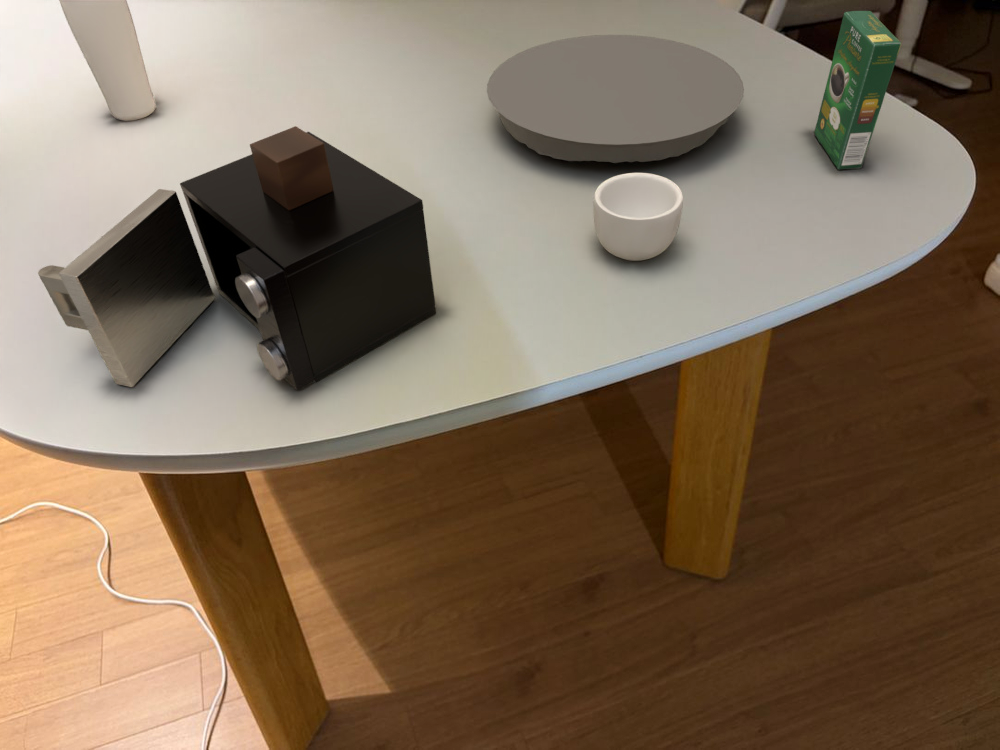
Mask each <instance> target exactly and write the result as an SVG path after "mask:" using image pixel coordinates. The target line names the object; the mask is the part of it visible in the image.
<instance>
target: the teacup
mask: <svg viewBox="0 0 1000 750" xmlns="http://www.w3.org/2000/svg"><path fill="white" fill-rule="evenodd" d="M683 197H684V196H683V192H682V189H681V188H680V187H679V186H678V184H677V183H675V182H674V181H673V180H670V179H669V178H667V177H665V176H661V175H659V174H654V173H649V172H628V173H622V174H617V175H614V176H612V177H610V178H607V179H606V180H604V181H602V182H601V183H600V184H599V185H598V187H597V188H596V189H595V192H594V195H593V201H592V203H593V205H592V210H593V226H594V231H595V234H596V237H597V239H598V241H599V243H600V244H601V246H602V247H603V249H605V250H606V251H607V252H608V253H609V254H611V255H612V256H615V257H617V258H619V259H623V260H625V261H631V262H632V261H635V262H638V261H644V260H649V259H653V258H655V257H657V256H659V255H661V254H662V253H663V252H664V251H666V250H667V249H668V248H669V247H670V246H671V244H672V243H673V241H674V239H675V237H676V235H677V232H678V229H679V226H680V222H681V219H682V212H683V207H684V198H683Z"/></svg>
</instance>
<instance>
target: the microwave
mask: <svg viewBox="0 0 1000 750" xmlns="http://www.w3.org/2000/svg"><path fill="white" fill-rule="evenodd" d="M305 132H306V133H308V134H309V135H311V136H313V137H314V138H316V139H318V140H319V141H321V142H323V143H324V146H325V151H326V156H327V161H328V165H329V170H330V175H331V180H332V185H333V189H334V191H332V192H330V193H328V194H326V195H323V196H321V197H319V198H317V199H314V200H312V201H310V202H308V203H305V204H303V205H301V206H299V207H297V208H294V209H292V210H288V209H286V208H285V207H283V206H282V205H281V204H279V203H278V202H277V201H275V200H274V199H272V198H271V197H270V196H268V195H267V194H266V193H264V192H263V191H262V187H261V183H260V180H259V176H258V173H257V169H256V166H255V162H254V158H253V155H252V153H251V154H249V155H246V156H244V157H241V158H239V159H237V160H233V161H231V162H229V163H227V164H224V165H222V166H219V167H217V168H214V169H212V170H209V171H207V172H205V173H202V174H200V175H197V176H194V177H191V178H190V179H186V180H184V181H182V182H179V185H180V189H181V191H182V193H183V197H184V199H185V202H186V205H187V207H188V210H189V214H190V216H191V219H192V222H193V225H194V227H195V230H196V233H197V236H198V239H199V242H200V244H201V247H202V249H203V252H204V255H205V258H206V261H207V263H208V266H209V269H210V272H211V275H212V277H213V280H214V283H215V286H216V287H217V291H218V294H220V295H221V297H223V298H224V299H225V300H226V301H227V302H228V303H229V304H230V305H232V306H233V307H234V308H235V309H236V310H237V311H238V312H239V313H240V314H241V315H242V316H243V317H245V318H246V319H247V320H248V321H249V322H250V323H251V324H252V325H253V326H254V327H255V328H256V329H257V330H258V331H259V332H260V335H261V337H262V341H261V342H258V343H257V345H256V349H257V353H258V356H259V358H260V360H261V362H262V364H263V366H264V367H265V369H266V370H267V372H268V373H269V374H270V375H271V376H272V377H273V378H274V379H275V380H277V381H282V380H283V379H285V380H286V381H287V382H288V383H289V385H291V386H292V387H293V388H294V389H295V390H296V391H300V390H302V389H304V388H306V387H307V386H309V385H311V384H313V383H318V382H320V381H321V380H323V379H325V378H327V377H328V376H330V375H332V374H333V373H335V372H337V371H338V370H341V369H342V368H344V367H345V366H346V367H347V366H348V365H349V364H351V363H352V362H355V361H356V360H358V359H360V358H361V357H363V356H365V355H367V354H369V353H370V352H372V351H374V350H376V349H377V348H379V347H381V346H383V345H384V344H386V343H388V342H389V341H391V340H393V339H395V338H396V337H398V336H400V335H402V334H404V333H405V332H407V331H409V330H410V329H412V328H413V327H416V326H417V325H419V324H420V323H423V322H424V321H425V320H427V319H429V318H431V317H433V316H434V315H436V314H437V309H436V308H437V307H436V301H435V299H436V298H435V293H434V291H435V290H434V285H433V276H432V268H431V260H430V253H429V245H428V243H429V242H428V236H427V228H426V220H425V212H424V202H423V199H421V198H420V197H418V196H416V195H415V194H413V193H411V192H410V191H408V190H407V189H404V188H403V187H402V186H400V185H398V184H396V183H395V182H393V181H391V180H390V179H388V178H386V177H385V176H383V175H382V174H380V173H378V172H377V171H375V170H374V169H372V168H370V167H369V166H367V165H365V164H364V163H361V161H358V160H356V159H355V158H353V157H352V156H350V155H349V154H347V153H345V152H343V150H340V149H338V148H337V147H335V146H333V145H332V144H330V143H328V142H327V141H325V140H324V139H322V138H320V137H319V136H317V135H315V134H313V133H312V132H311V131H305Z"/></svg>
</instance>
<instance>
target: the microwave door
mask: <svg viewBox="0 0 1000 750" xmlns="http://www.w3.org/2000/svg"><path fill="white" fill-rule="evenodd" d="M37 275H38V276H39V278H40V281H41V282H42V284H43V286H44V287H45V290H46V291H47V293H48V295H49V297H50V299H51V300H52V302H53V304H54V306H55V308H56V310H57V311H58V313H59V315H60V317H61V319H62V321H63V322H64V325H65V326H66V327H69V328H75V329H80V330H85V331H87V332H88V333H89V335H90V337H91V339H92V341H93V343H94V344H95V347H96V349H97V350H98V352H99V354H100V356H101V358H102V360H103V362H104V364H105V366H106V367H107V370H108V371H109V373H110V375H111V378H112V379H113V381H114V383H115V384H116V385H120V386H124V387H129V388H133V387H135V385H136V384H138V382H139V381H140V380H141V379H142V378H143V377H144V375H146V374H147V373H148V372H149V370H150V369H151V368H152V367H153V366H154V365H155V364H156V362H158V361H159V359H160V358H161V357H162V356H163V355H164V354H165V353H166V352H167V351H168V350H169V349H170V348H171V347H172V345H174V343H175V342H176V341H177V340H178V339H179V338H180V337H181V336H182V335H183V334H184V333H185V332H186V330H187V329H188V328H189V327H190V326H191V325H192V324H193V323H194V322H195V321H196V320H197V319H198V318H199V317H200V316H201V314H202V313H203V312H204V311H205V310H206V309H207V308H208V307H209V306H210V305H211V304H212V302H213V301H214V300H215V295H214V292H213V290H212V286H211V284H210V281H209V278H208V276H207V273H206V270H205V268H204V264H203V262H202V260H201V257H200V254H199V251H198V248H197V245H196V243H195V240H194V238H193V235H192V232H191V228H190V226H189V224H188V221H187V218H186V215H185V213H184V210H183V207H182V204H181V202H180V199H179V197H178V194H177V191H176V190H169V189H162V188H159V189H157V190H156V191H155V192H154V193H153V194H151V195H150V196H149V197H148V198H146V199H145V200H144V201H143V202H142V203H140V204H139V205H138V206H137V207H136V208H134V210H132V211H130V213H128V214H127V215H126V216H125V217H124V218H123V219H121V220H120V221H119V222H118V223H116V224H115V225H114V226H113V227H112V228H110V229H109V230H108V231H107V232H106V233H105V234H104V235H102V236H101V237H99V239H98V240H96V241H95V242H94V243H93V244H91V245H90V246H89V247H88V248H86V250H84V251H83V252H82V253H81V254H80V255H78V256H77V257H76V258H75V259H74V260H72V261H71V262H70V263H69V264H68V265H67V266H65V267H64V266H58V265H53V264H52V265H45V266H43V267H41V268H40V269H39V270H38V273H37Z"/></svg>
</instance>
